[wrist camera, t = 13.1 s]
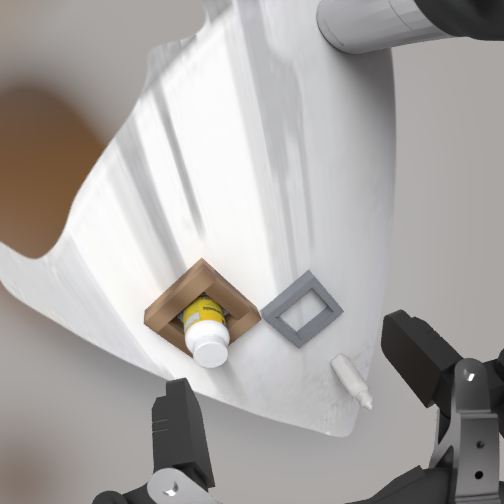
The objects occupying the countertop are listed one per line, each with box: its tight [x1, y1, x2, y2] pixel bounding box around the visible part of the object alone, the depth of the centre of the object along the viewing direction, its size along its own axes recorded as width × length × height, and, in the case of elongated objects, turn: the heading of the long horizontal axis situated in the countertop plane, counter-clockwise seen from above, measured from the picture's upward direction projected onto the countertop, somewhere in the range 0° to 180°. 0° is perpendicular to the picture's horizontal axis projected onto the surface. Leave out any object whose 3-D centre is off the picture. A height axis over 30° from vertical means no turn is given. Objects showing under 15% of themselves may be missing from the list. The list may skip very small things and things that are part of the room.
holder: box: [261, 270, 344, 348], centre depth 45 cm, size 9×9×2 cm
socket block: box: [144, 258, 261, 359], centre depth 41 cm, size 11×11×3 cm
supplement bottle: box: [183, 294, 230, 368], centre depth 38 cm, size 5×5×10 cm
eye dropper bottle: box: [331, 355, 373, 410], centre depth 49 cm, size 4×6×12 cm
